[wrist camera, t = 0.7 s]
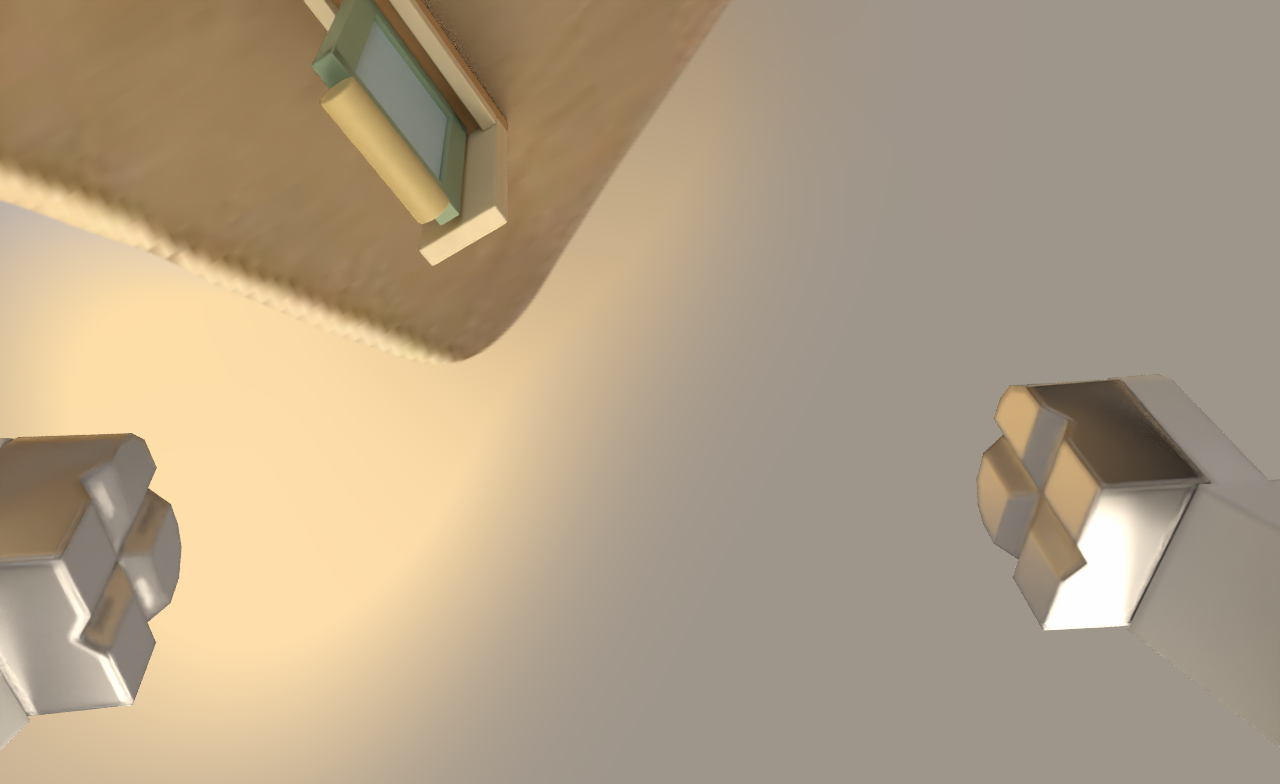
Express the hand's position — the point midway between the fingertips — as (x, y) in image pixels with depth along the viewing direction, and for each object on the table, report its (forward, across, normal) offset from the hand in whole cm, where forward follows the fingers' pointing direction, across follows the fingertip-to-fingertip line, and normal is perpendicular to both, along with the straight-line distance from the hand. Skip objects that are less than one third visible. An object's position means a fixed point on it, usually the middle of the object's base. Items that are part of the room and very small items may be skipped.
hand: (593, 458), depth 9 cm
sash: (+40, +6, +9) cm, 41 cm away
